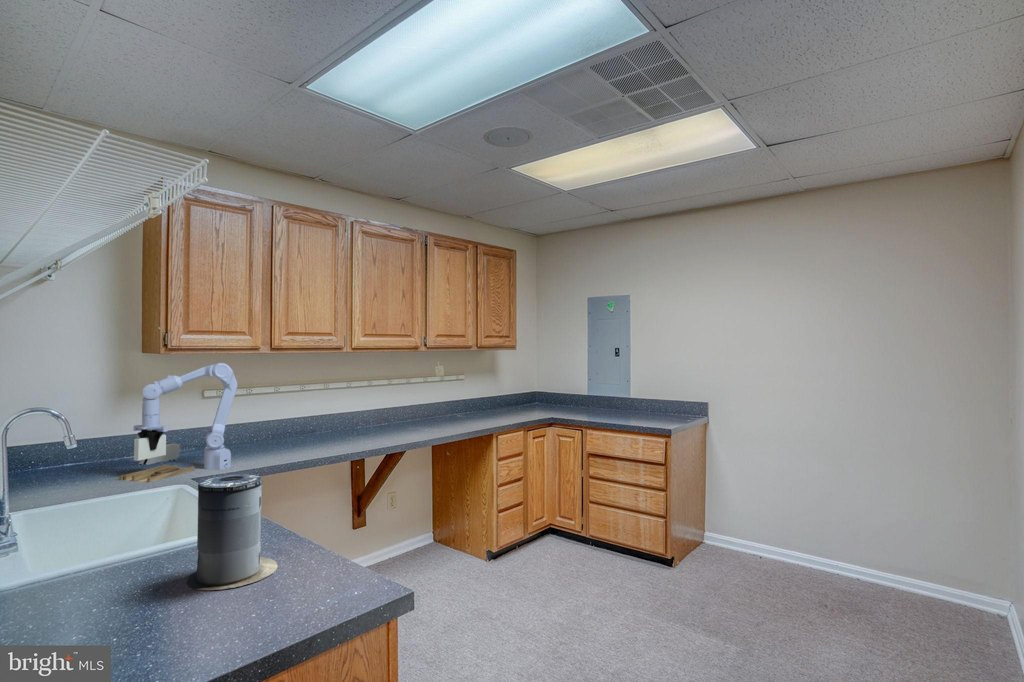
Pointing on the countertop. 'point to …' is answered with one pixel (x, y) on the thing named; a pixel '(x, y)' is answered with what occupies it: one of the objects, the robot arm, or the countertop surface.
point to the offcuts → (164, 471)
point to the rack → (146, 474)
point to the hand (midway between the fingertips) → (150, 449)
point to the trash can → (229, 534)
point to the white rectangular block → (148, 448)
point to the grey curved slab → (171, 453)
